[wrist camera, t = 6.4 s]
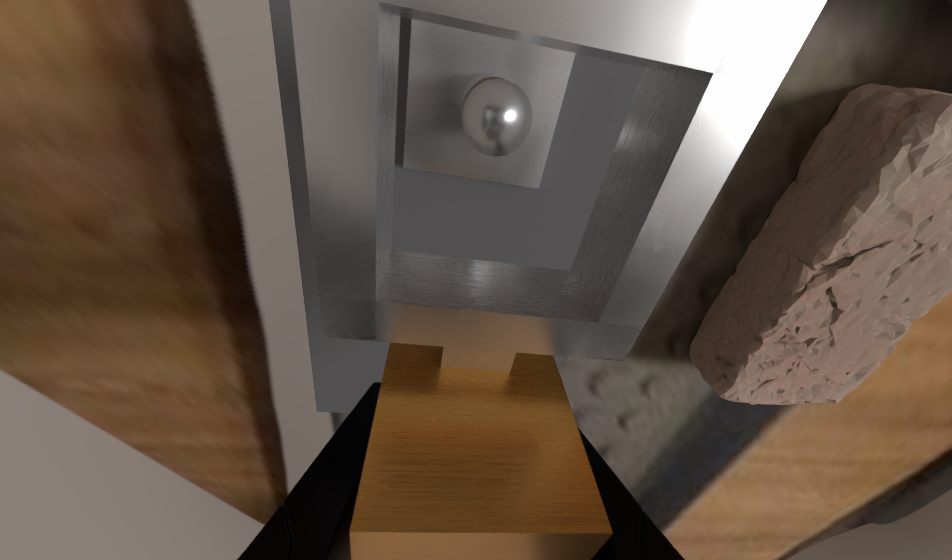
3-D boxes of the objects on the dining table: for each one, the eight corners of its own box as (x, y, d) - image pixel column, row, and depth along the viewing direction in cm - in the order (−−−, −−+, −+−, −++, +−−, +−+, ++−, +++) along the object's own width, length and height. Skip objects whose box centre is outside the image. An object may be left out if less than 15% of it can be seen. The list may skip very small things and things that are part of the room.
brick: (841, 80, 15) (975, 89, 11) (993, 108, 16) (1163, 125, 12) (673, 349, 24) (716, 406, 20) (778, 356, 25) (838, 412, 21)
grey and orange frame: (526, 457, 13) (561, 642, 9) (354, 451, 12) (306, 653, 8) (723, 11, 6) (1372, -89, 2) (333, -83, 5) (-247, -752, 1)
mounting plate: (535, 417, 27) (536, 423, 26) (320, 404, 25) (317, 411, 24) (713, -9, 13) (723, -11, 13) (262, -124, 11) (253, -133, 10)
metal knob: (534, 183, 16) (565, 230, 12) (405, 162, 15) (386, 205, 11) (576, 26, 13) (638, 12, 9) (415, -10, 12) (394, -46, 8)
